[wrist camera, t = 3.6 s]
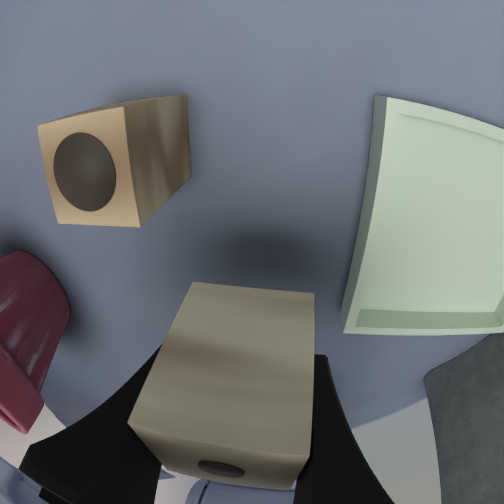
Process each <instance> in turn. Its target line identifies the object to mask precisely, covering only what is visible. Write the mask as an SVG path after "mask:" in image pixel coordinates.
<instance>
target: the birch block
mask: <svg viewBox="0 0 504 504" xmlns="http://www.w3.org/2000/svg"><path fill="white" fill-rule="evenodd" d="M313 383H314V293H306V292H294V291H282V290H271V289H260V288H249V287H239V286H229V285H219V284H210V283H201V282H192V284H191V286H190V288H189V290H188V292H187V294H186V296H185V298H184V300H183V302H182V304H181V306H180V308H179V311H178V313H177V315H176V317H175V319H174V321H173V323H172V325H171V327H170V329H169V331H168V333H167V336H166V338H165V340H164V342H163V344H162V346H161V348H160V351H159V353H158V355H157V357H156V359H155V361H154V364H153V366H152V368H151V370H150V372H149V374H148V377H147V379H146V381H145V383H144V386H143V388H142V390H141V392H140V395H139V397H138V399H137V401H136V404H135V406H134V408H133V411H132V413H131V415H130V417H129V420H128V422H127V423H128V424H129V425H130V427H131V428H132V429H133V430H134V432H135V433H136V434H137V435H138V437H139V438H140V439H141V440H142V441H143V443H144V444H145V445H146V446H147V447H148V449H149V450H150V451H151V452H152V453H153V454H154V455H155V457H156V458H157V459H158V460H159V461H160V462H161V463H162V464H163V465H164V466H165V468H166V469H167V470H170V471H174V472H177V473H181V474H185V475H190V476H194V477H198V478H202V479H207V480H212V481H217V482H223V483H228V484H234V485H241V486H248V487H256V488H265V489H275V490H290V489H291V487H292V485H293V484H294V482H295V480H296V479H297V477H298V475H299V474H300V472H301V470H302V468H303V467H304V465H305V463H306V461H307V460H308V458H309V456H310V444H311V428H312V409H313Z"/></svg>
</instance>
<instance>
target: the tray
mask: <svg viewBox="0 0 504 504" xmlns="http://www.w3.org/2000/svg"><path fill="white" fill-rule="evenodd" d="M341 316H342V327H343V333H348V334H372V335H465V334H488V333H503V332H504V129H502V128H499V127H497V126H494V125H491V124H488V123H486V122H483V121H480V120H477V119H474V118H471V117H468V116H464V115H461V114H458V113H454V112H451V111H447V110H444V109H440V108H436V107H432V106H428V105H424V104H420V103H416V102H411V101H407V100H402V99H397V98H392V97H386V96H381V95H375V100H374V113H373V125H372V135H371V145H370V153H369V162H368V169H367V177H366V184H365V191H364V197H363V203H362V209H361V215H360V221H359V227H358V232H357V237H356V243H355V248H354V253H353V258H352V262H351V267H350V272H349V276H348V281H347V285H346V289H345V293H344V298H343V302H342V306H341Z"/></svg>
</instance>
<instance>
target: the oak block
mask: <svg viewBox="0 0 504 504" xmlns="http://www.w3.org/2000/svg"><path fill="white" fill-rule="evenodd" d="M37 127H38V134H39V140H40V146H41V152H42V158H43V163H44V168H45V173H46V177H47V182H48V186H49V190H50V194H51V198H52V202H53V206H54V210H55V214H56V217H57V221H58V223H59V224H82V225H103V226H123V227H141V226H142V225H143V224H144V223H145V222H146V221H147V220H148V219H149V218H150V217H151V216H152V215H153V214H154V213H155V212H156V211H157V210H158V209H159V208H160V207H161V206H162V205H163V204H164V203H165V202H166V201H167V200H168V199H169V198H170V197H171V196H172V195H173V194H174V193H175V192H176V191H177V190H178V189H179V188H180V187H181V186H182V185H183V184H184V183H185V182H186V181H187V180H188V179H189V178H190V177H191V176H192V174H191V161H190V147H189V131H188V113H187V94H179V95H169V96H160V97H152V98H145V99H138V100H131V101H125V102H119V103H113V104H109V105H105V106H101V107H97V108H93V109H89V110H86V111H82V112H79V113H75V114H72V115H68V116H65V117H62V118H59V119H56V120H53V121H50V122H47V123H44V124H41V125H38V126H37Z"/></svg>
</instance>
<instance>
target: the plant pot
mask: <svg viewBox="0 0 504 504" xmlns="http://www.w3.org/2000/svg"><path fill="white" fill-rule="evenodd" d="M69 317H70V307H69V303H68V300H67V297H66V295H65V293H64V291H63V289H62V287H61V286H60V284H59V282H58V281H57V280H56V278H55V277H54V276H53V274H52V273H51V272H50V271H49V270H48V269H47V267H46V266H45V265H44V264H42V263H41V262H40V261H39V260H38V259H37V258H35V257H34V256H32V255H31V254H29V253H26V252H23V251H14V252H12V253H10V254H8V255H6V256H4V257H2V258H0V418H1V419H2V420H3V421H5V422H6V423H7V424H9V425H10V426H11V427H13V428H14V429H16V430H17V431H19V432H21V433H23V434H27V433H28V432H29V430H30V428H31V427H32V425H33V424H34V422H35V420H36V419H37V417H38V415H39V413H40V412H41V410H42V408H43V406H44V401H43V398H42V396H41V394H40V392H41V389H42V386H43V383H44V381H45V378H46V375H47V372H48V370H49V367H50V364H51V361H52V359H53V356H54V354H55V351H56V348H57V346H58V343H59V341H60V338H61V335H62V333H63V331H64V329H65V326H66V324H67V322H68V320H69Z"/></svg>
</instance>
